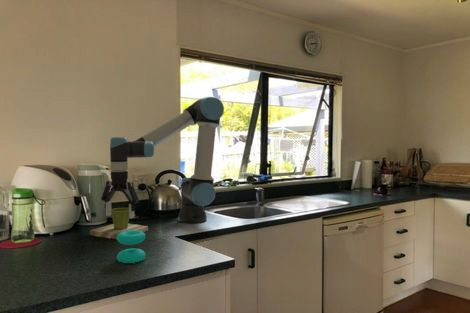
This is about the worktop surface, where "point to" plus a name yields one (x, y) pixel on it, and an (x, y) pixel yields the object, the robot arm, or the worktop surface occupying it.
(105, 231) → the striped wooden cutting board
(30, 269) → the worktop surface
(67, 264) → the worktop surface
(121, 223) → the plant pot
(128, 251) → the donuts
